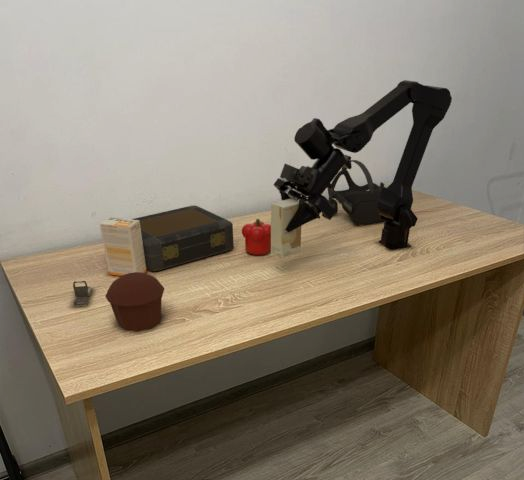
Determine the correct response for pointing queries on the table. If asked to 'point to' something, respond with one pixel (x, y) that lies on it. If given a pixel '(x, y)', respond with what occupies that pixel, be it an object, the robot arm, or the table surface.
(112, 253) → the supplement box
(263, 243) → the red pepper
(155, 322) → the muffin
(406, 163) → the robot arm
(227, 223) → the cash box
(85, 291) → the strap clip
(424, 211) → the table surface
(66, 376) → the table surface
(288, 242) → the cosmetic box
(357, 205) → the virtual reality headset
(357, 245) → the table surface
